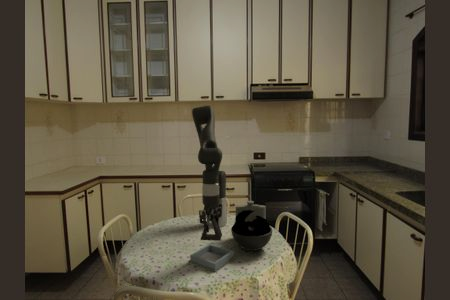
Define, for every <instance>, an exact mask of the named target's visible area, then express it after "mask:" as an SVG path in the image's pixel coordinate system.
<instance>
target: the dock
mask: <svg viewBox="0 0 450 300" xmlns="http://www.w3.org/2000/svg"><path fill="white" fill-rule="evenodd" d="M189 257H190V259H189V260H188V263H190V264H192V265H195V266H197V267H201V268H202V269H205V270H209V271H211V272H213V273H217V272H219V270H221V269H222V268H224V267H226V266H227V265H228V264H229V263H230V262H231V261H233V260H235V259H236V255H235V251H234V250H231V249H228V248H226V247H221V246H218V245H215V244H212V243H209V244H206V245H205V246H204V247H202V248H200V249H198V250H196V251H195V252H193V253H191V254H190V256H189Z"/></svg>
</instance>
